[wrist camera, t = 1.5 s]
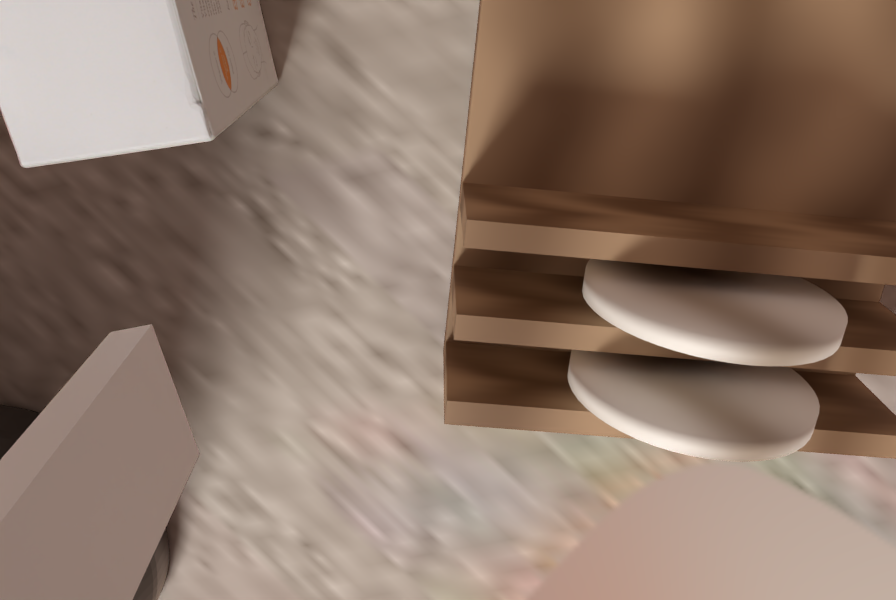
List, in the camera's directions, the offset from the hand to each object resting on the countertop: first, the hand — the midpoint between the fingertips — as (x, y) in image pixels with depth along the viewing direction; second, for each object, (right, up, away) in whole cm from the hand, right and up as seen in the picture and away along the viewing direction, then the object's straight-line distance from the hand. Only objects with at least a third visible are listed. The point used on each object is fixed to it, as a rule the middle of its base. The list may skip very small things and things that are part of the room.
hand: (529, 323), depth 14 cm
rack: (+8, +7, +18) cm, 21 cm away
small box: (-11, +12, +16) cm, 23 cm away
